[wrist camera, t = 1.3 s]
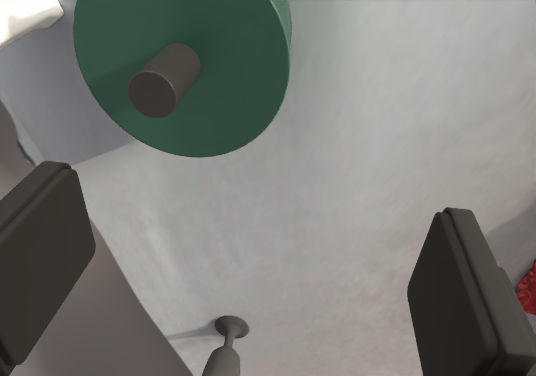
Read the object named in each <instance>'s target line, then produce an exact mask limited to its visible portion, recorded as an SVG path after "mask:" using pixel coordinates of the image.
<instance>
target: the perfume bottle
mask: <svg viewBox="0 0 536 376" xmlns="http://www.w3.org/2000/svg"><path fill="white" fill-rule="evenodd" d="M63 14H64V12H63V10H62V8H61V6H60V4H59V2H58V0H0V49H2V48H4V47H6V46H7V45H9V44H11V43H12V42H14V41H16V40H17V39H19V38H21V37H22V36H24V35H26V34H27V33H29V32H31V31H32V30H34V29H36V28H49V27H50V26H51V25H52V24H53V23H55V22H56V21H57V20H58V19H59V18H60V17H62V16H63Z"/></svg>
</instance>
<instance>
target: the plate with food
mask: <svg viewBox="0 0 536 376" xmlns="http://www.w3.org/2000/svg"><path fill="white" fill-rule="evenodd" d="M534 262H535V263H536V260H535V261H534ZM518 288H519V289H520V290H521V291H520V292H519V293H517V294H516V295H517V297H518V299H519V301H520V303H521V305H522V308H523V310H524V311H525V312H528V313H531V314H534V315H536V265H535V267H534V268H533V269H532V270H530V274H527V275H526V276H525V277H524V278H523V279H522V280H521V282H520V285H519V287H518Z"/></svg>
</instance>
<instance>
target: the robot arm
mask: <svg viewBox="0 0 536 376" xmlns="http://www.w3.org/2000/svg"><path fill="white" fill-rule="evenodd" d="M94 252H95V240H94V237H93V233H92V229H91V225H90V221H89V217H88V213H87V209H86V205H85V201H84V197H83V194H82V190H81V186H80V182H79V178H78V174H77V172H76V171H75V170H73V169H72V168H71V166H70V165H69V164H67V163H60V162H52V161H44V162H42V163H41V164H39V165H38V166H37V167H36V168H35V169H34V170H33V171H32V172H31V173H30V174H29V175H28V176H27V177H25V178H24V179H23V180H22V181H21V182H20V183H19V184H18V185H17V186H16V187H15V188H13V189H12V190H11V191H10V192H9V193H8V194H7V195H6V196H5V197H4V198H3V199H2V200H0V376H9V375H10V374H11V372H12V371H13V369H14V368H15V366H16V365H20V364H21V363H23V362H24V361H25V359H26V358H27V356H28V355H29V353H30V352H31V350H32V349H33V347H34V346H35V344H36V343H37V341H38V340H39V338H40V337H41V335H42V333H43V332H44V331H45V329H46V328H47V326H48V324H49V323H50V321H51V320H52V318H53V317H54V315H55V314H56V312H57V311H58V309H59V308H60V306H61V305H62V303H63V302H64V300H65V298H66V297H67V295H68V294H69V292H70V291H71V289H72V288H73V286H74V285H75V283H76V282H77V280H78V279H79V277H80V276H81V274H82V272H83V271H84V269H85V268H86V267H87V265H88V263H89V262H90V260H91V259H92V257H93V255H94ZM407 296H408V302H409V307H410V312H411V317H412V322H413V327H414V332H415V337H416V342H417V347H418V352H419V357H420V362H421V367H422V372H423V376H536V335H535V333H534V331H533V328H532V326H531V324H530V322H529V320H528V318H527V316H526V314H525V312H524V310H523V308H522V305H521V303H520V301H519V299H518V297H517V295H516V293H515V291H514V289H513V287H512V285H511V282H510V280H509V278H508V276H507V274H506V273H505V271H504V270H503V269H502V268H501V267H499V266H497V263H496V261H495V259H494V257H493V255H492V253H491V250H490V248H489V246H488V244H487V242H486V240H485V238H484V235H483V233H482V231H481V229H480V227H479V225H478V222H477V220H476V218H475V216H474V214H473V212H472V211H471V210H466V209H457V208H449V207H447V208H445V209H444V210H443V212H437V213H436V214H435V216H434V218H433V221H432V224H431V226H430V229H429V232H428V234H427V237H426V239H425V242H424V245H423V247H422V250H421V253H420V255H419V258H418V260H417V263H416V266H415V268H414V271H413V274H412V276H411V279H410V282H409V285H408V291H407Z"/></svg>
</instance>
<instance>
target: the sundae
mask: <svg viewBox="0 0 536 376" xmlns="http://www.w3.org/2000/svg"><path fill="white" fill-rule="evenodd" d="M215 328H216V330H217V331H218V332H219V333H220V334H222V335H223V336H225V343H224V346H222V347H219V348H217V349H216V350H214V351H213V352H212V353H211V355H210V357H209V359H208V361H207V364H206V366H205V369H204V371H203V374H202V376H240V358H239V356H238V354H237V353H236V351H235V350H234V349H233V348H232V344H233V340H234V338H242V337H244V336H246V335H247V334H248V332H249V326H248V325H247V323H246V322H245V321H243V320H242V319H240V318H237V317H234V316H224V317H221V318H219V319H218V320H217V321H216V322H215Z"/></svg>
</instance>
